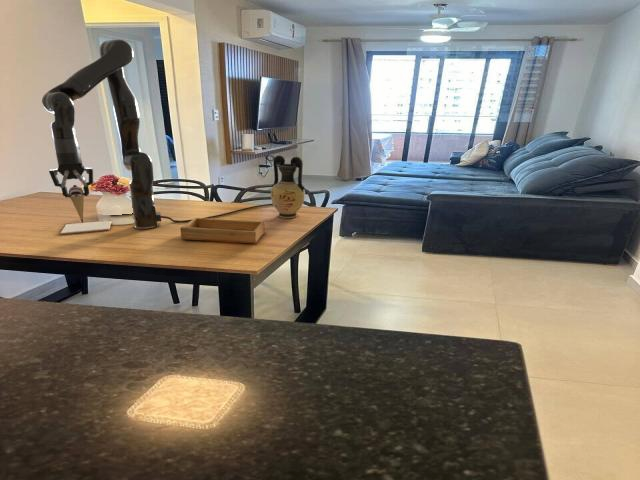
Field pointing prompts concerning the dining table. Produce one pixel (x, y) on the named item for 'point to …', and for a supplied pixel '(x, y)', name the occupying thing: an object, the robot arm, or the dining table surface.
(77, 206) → the ice cream cone
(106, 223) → the white flat slab
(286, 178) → the amphora
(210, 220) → the tray
